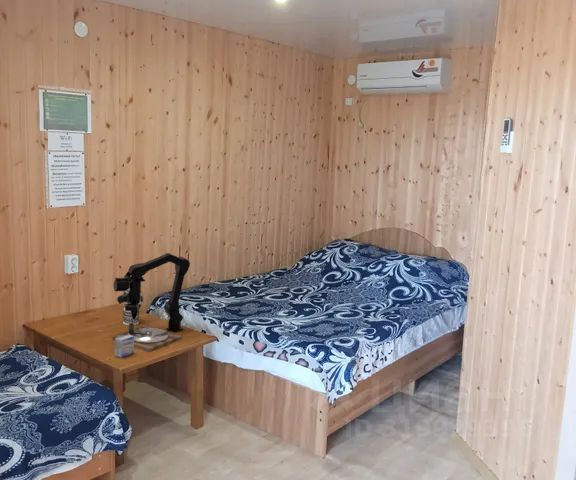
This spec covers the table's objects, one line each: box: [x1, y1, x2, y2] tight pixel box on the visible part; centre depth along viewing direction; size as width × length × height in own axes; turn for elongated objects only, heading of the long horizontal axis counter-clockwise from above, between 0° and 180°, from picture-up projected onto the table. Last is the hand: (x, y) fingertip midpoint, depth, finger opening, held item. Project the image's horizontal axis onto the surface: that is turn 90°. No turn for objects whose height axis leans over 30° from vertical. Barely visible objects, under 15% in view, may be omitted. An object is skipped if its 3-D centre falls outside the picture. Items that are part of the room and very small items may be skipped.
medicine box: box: [114, 335, 135, 359], centre depth 267 cm, size 8×4×9 cm, turn 148°
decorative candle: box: [122, 289, 140, 326], centre depth 309 cm, size 9×9×25 cm
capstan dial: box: [128, 323, 168, 343], centre depth 289 cm, size 20×20×6 cm
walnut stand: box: [112, 325, 183, 353], centre depth 289 cm, size 24×24×2 cm
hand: (133, 319), depth 293 cm, fingers closed
